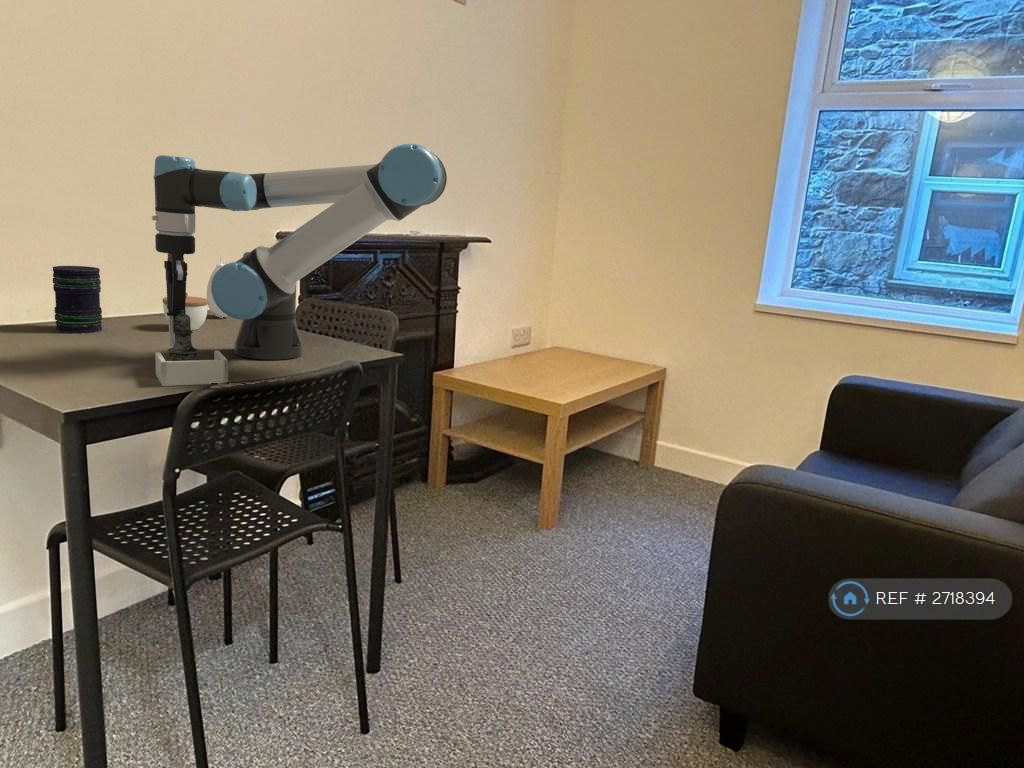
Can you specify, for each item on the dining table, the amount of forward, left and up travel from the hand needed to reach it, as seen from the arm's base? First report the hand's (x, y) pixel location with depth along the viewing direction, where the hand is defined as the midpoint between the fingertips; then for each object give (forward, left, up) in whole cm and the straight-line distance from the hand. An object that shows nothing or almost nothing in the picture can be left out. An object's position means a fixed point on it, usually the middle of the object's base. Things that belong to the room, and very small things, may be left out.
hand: (176, 344), depth 155 cm
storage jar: (+17, -35, -3) cm, 39 cm away
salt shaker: (0, +8, -3) cm, 9 cm away
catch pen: (0, +18, -3) cm, 19 cm away
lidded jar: (-7, -36, -3) cm, 37 cm away
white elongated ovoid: (-19, -53, -3) cm, 56 cm away
